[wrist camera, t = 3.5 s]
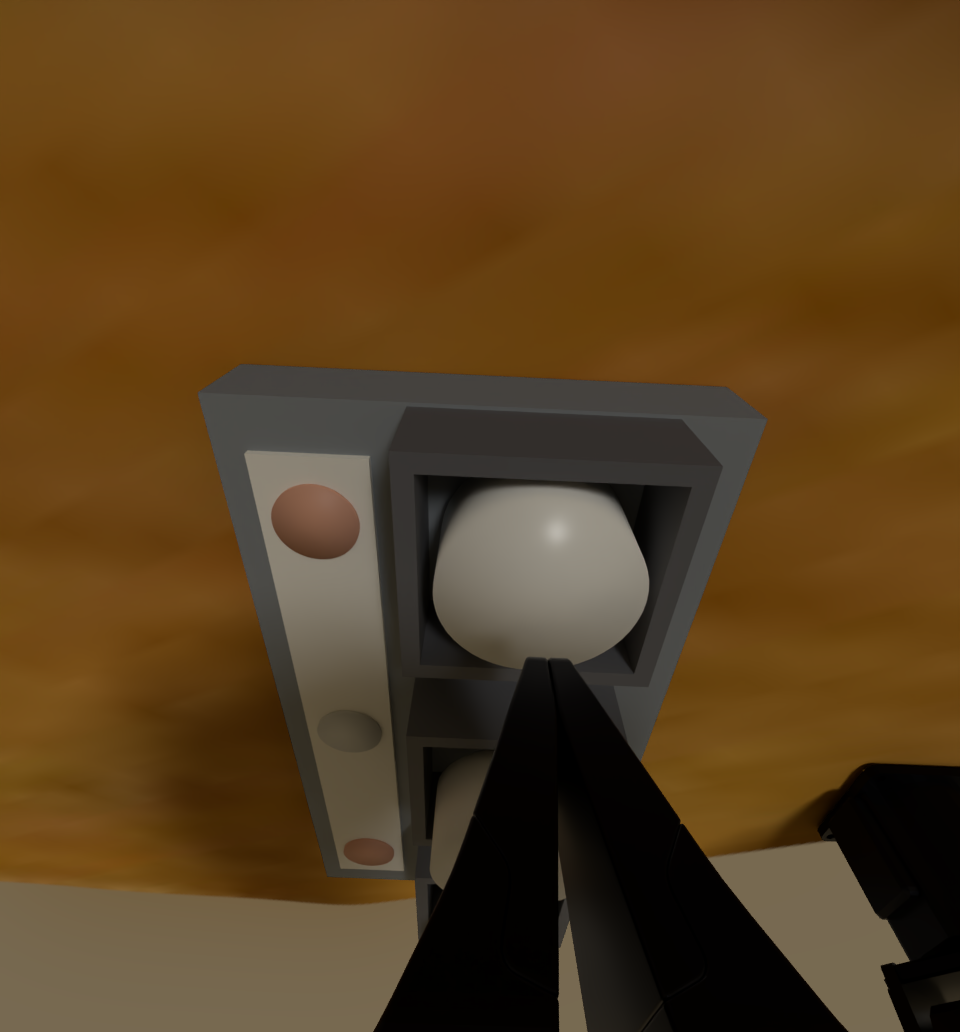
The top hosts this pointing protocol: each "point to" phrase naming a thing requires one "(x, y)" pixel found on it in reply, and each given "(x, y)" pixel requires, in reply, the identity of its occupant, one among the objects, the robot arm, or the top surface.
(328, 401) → the button board
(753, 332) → the top surface
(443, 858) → the button mid
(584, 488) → the button
